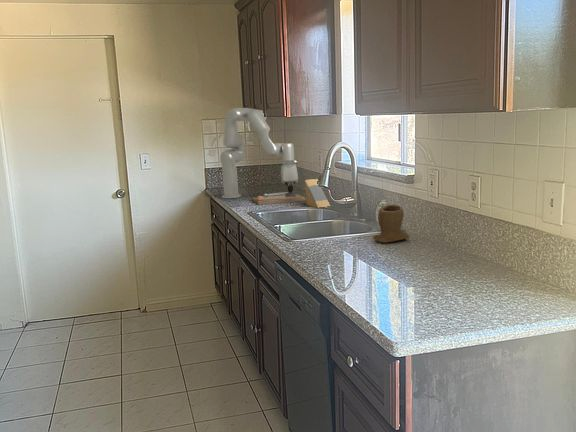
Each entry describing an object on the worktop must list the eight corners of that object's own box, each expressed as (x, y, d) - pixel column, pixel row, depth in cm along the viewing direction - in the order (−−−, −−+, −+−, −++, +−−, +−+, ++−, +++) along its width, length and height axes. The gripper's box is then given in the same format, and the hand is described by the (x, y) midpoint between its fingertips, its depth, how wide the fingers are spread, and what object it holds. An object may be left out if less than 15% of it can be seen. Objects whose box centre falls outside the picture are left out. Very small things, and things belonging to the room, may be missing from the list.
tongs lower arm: (260, 199, 355) (260, 197, 355) (258, 198, 359) (258, 196, 358) (295, 196, 361) (295, 194, 361) (294, 195, 365) (293, 193, 365)
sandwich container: (318, 208, 325) (317, 182, 322) (305, 205, 339) (304, 180, 336) (331, 206, 329) (330, 180, 326) (318, 203, 342) (317, 178, 340)
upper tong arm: (264, 197, 356) (264, 194, 356) (263, 196, 359) (263, 193, 359) (295, 194, 361) (295, 191, 361) (293, 193, 365) (293, 190, 364)
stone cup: (385, 246, 229) (384, 209, 226) (369, 240, 239) (368, 205, 237) (416, 241, 235) (416, 205, 232) (399, 236, 245) (399, 201, 243)
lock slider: (258, 200, 352) (258, 196, 352) (257, 199, 355) (257, 196, 354) (263, 199, 353) (263, 196, 353) (262, 199, 355) (262, 195, 355)
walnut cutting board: (251, 200, 366) (251, 197, 365) (296, 196, 373) (296, 193, 373) (258, 204, 348) (258, 201, 347) (305, 200, 355) (305, 197, 355)
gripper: (298, 161, 364) (300, 190, 367) (275, 163, 360) (277, 192, 363) (301, 162, 357) (303, 191, 360) (278, 164, 353) (280, 194, 356)
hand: (290, 192), depth 361 cm, fingers closed
